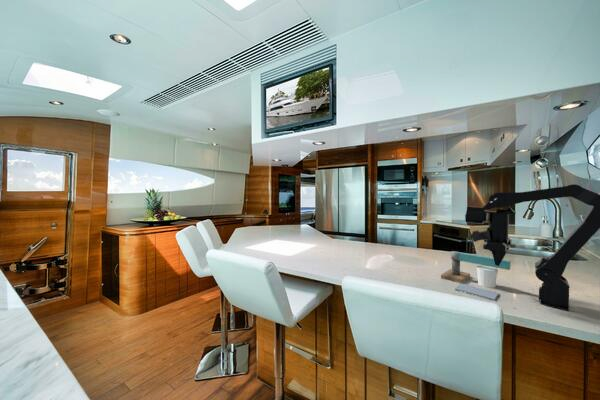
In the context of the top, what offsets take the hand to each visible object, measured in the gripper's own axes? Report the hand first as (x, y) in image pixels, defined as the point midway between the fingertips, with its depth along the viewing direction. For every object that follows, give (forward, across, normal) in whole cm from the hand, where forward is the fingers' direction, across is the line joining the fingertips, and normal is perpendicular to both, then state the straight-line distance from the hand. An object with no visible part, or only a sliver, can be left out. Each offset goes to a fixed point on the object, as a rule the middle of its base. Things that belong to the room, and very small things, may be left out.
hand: (497, 265), depth 90 cm
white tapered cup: (+10, -5, -4) cm, 12 cm away
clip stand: (+10, -5, -15) cm, 19 cm away
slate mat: (+10, +7, -5) cm, 13 cm away
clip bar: (+2, -5, -7) cm, 9 cm away
